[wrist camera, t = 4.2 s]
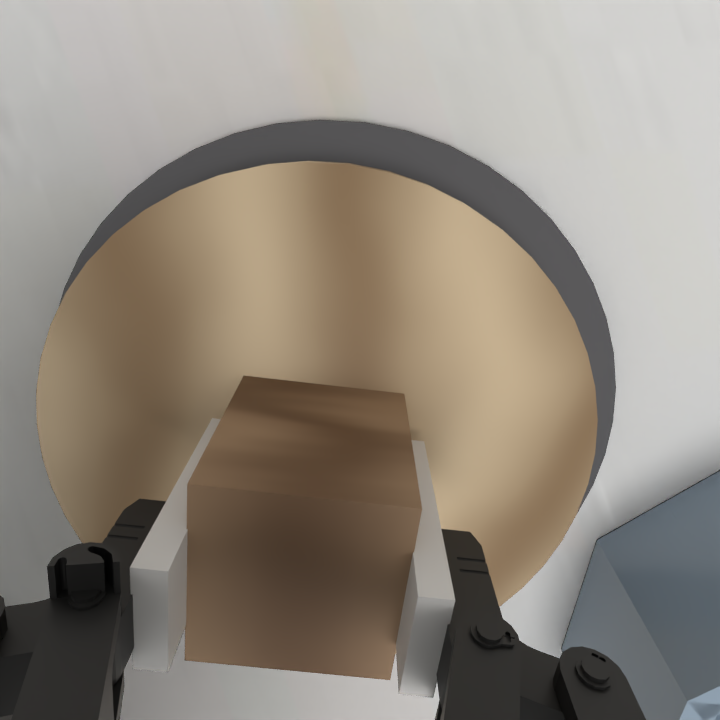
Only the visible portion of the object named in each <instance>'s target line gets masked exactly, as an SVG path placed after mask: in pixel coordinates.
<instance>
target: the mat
mask: <svg viewBox="0 0 720 720" xmlns="http://www.w3.org/2000/svg"><path fill="white" fill-rule="evenodd" d="M299 161H322V162H339V163H351V164H356V165H361V166H366V167H372V168H377V169H382V170H387V171H391V172H393V173H396V174H399V175H402V176H405V177H408V178H411V179H414V180H417V181H419V182H422V183H425V184H428V185H430V186H432V187H434V188H436V189H438V190H440V191H441V192H443V193H445V194H447V195H449V196H451V197H453V198H455V199H457V200H459V201H461V202H463V203H465V204H466V205H468V206H469V207H471V208H472V209H474V210H475V211H476V212H478V213H479V214H481V215H482V216H484V217H485V218H486V219H488V220H489V221H491V222H492V223H494V224H495V225H496V226H498V227H499V228H501V229H502V230H503V231H504V232H505V233H507V234H508V235H509V236H510V237H511V238H512V239H513V240H514V241H515V242H516V243H517V244H518V245H519V246H520V247H521V248H522V249H524V250H525V251H526V252H527V253H528V254H529V255H530V256H531V257H532V258H533V259H534V261H535V262H536V263H537V264H538V266H539V267H540V268H541V269H542V271H543V272H544V273H545V274H546V276H547V277H548V278H549V279H550V281H551V282H552V283H553V285H554V286H555V287H556V289H557V290H558V292H559V294H560V296H561V297H562V299H563V301H564V302H565V304H566V306H567V308H568V309H569V311H570V313H571V315H572V316H573V318H574V320H575V322H576V325H577V327H578V330H579V332H580V335H581V338H582V340H583V343H584V345H585V348H586V350H587V353H588V357H589V361H590V366H591V370H592V375H593V379H594V384H595V390H596V404H597V418H598V423H597V436H596V449H595V456H594V461H593V465H592V469H591V474H590V478H589V483H588V486H587V488H586V491H585V494H584V496H583V499H582V502H581V504H580V507H581V506H582V504H583V502H584V500H585V498H586V497H587V495H588V493H589V491H590V489H591V488H592V486H593V484H594V481H595V479H596V476H597V474H598V471H599V468H600V466H601V463H602V461H603V458H604V456H605V453H606V448H607V444H608V440H609V436H610V431H611V427H612V423H613V414H614V402H615V391H616V383H615V366H614V352H613V347H612V343H611V338H610V333H609V328H608V324H607V319H606V316H605V313H604V311H603V308H602V305H601V302H600V300H599V297H598V294H597V292H596V289H595V286H594V284H593V282H592V280H591V278H590V276H589V275H588V273H587V271H586V269H585V267H584V266H583V264H582V262H581V260H580V258H579V257H578V255H577V253H576V251H575V250H574V248H573V247H572V246H571V244H570V243H569V242H568V240H567V239H566V238H565V237H564V235H563V234H562V233H561V231H560V230H559V229H558V227H557V226H556V225H555V223H554V222H553V221H552V220H551V218H550V217H549V216H548V215H547V214H545V213H544V212H543V211H542V210H541V209H540V208H539V207H538V206H537V205H536V204H535V203H534V202H533V201H532V200H531V199H530V198H529V197H528V196H527V195H526V194H525V193H524V192H523V191H522V190H520V189H519V188H518V187H516V186H515V185H514V184H512V183H511V182H509V181H508V180H507V179H505V178H504V177H502V176H501V175H500V174H498V173H497V172H495V171H494V170H493V169H491V168H490V167H489V166H487V165H485V164H483V163H481V162H479V161H478V160H476V159H474V158H472V157H470V156H468V155H466V154H464V153H462V152H460V151H458V150H456V149H455V148H453V147H451V146H449V145H446V144H443V143H440V142H437V141H434V140H432V139H429V138H426V137H423V136H420V135H417V134H415V133H412V132H409V131H405V130H400V129H395V128H390V127H385V126H380V125H375V124H370V123H365V122H348V121H330V120H314V121H303V122H291V123H279V124H273V125H269V126H265V127H261V128H256V129H252V130H248V131H243V132H239V133H235V134H232V135H230V136H227V137H225V138H222V139H219V140H217V141H214V142H212V143H209V144H207V145H204V146H202V147H199V148H196V149H194V150H193V151H191V152H189V153H187V154H186V155H184V156H182V157H180V158H179V159H177V160H175V161H173V162H172V163H170V164H168V165H166V166H165V167H163V168H161V169H160V170H158V171H157V172H156V173H154V174H153V175H152V176H151V177H149V178H148V179H147V180H146V181H144V182H143V183H142V184H141V185H139V186H138V187H137V188H136V189H134V190H133V191H132V192H131V193H129V194H128V195H127V196H126V197H125V198H124V199H123V200H122V201H121V203H120V204H119V205H118V206H117V207H116V208H115V209H114V210H113V211H112V212H111V213H110V214H109V215H108V217H107V218H106V219H105V220H104V221H103V222H102V223H101V224H100V226H99V227H98V229H97V230H96V232H95V233H94V235H93V236H92V238H91V239H90V241H89V242H88V244H87V245H86V247H85V248H84V250H83V251H82V253H81V254H80V256H79V258H78V260H77V262H76V265H75V267H74V269H73V271H72V273H71V275H70V277H69V279H68V282H67V284H66V286H65V288H64V292H63V295H62V298H61V302H62V300H63V298H64V296H65V293H66V292H67V290H68V289H69V287H70V286H71V284H72V283H73V281H74V280H75V279H76V277H77V276H78V274H79V273H80V271H81V270H82V268H83V267H84V265H85V264H86V263H87V261H88V260H89V259H90V258H91V257H92V256H93V255H94V254H95V253H96V252H97V251H98V250H99V249H100V248H101V247H102V245H103V244H104V243H105V242H106V241H107V240H108V239H109V238H110V237H111V236H112V235H113V234H114V233H115V232H117V231H118V230H119V229H121V228H122V227H123V226H124V225H126V224H127V223H128V222H130V221H131V220H132V219H133V218H135V217H136V216H137V215H139V214H140V213H141V212H142V211H144V210H145V209H147V208H149V207H151V206H152V205H154V204H156V203H158V202H159V201H161V200H163V199H165V198H167V197H168V196H170V195H172V194H174V193H175V192H177V191H179V190H181V189H184V188H187V187H189V186H192V185H194V184H197V183H200V182H202V181H205V180H207V179H210V178H213V177H215V176H218V175H222V174H226V173H230V172H235V171H239V170H244V169H248V168H252V167H257V166H261V165H266V164H274V163H287V162H299ZM61 302H60V304H61ZM59 306H60V305H59ZM580 507H579V509H580ZM579 509H578V511H579ZM577 513H578V512H577Z"/></svg>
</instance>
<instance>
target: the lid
mask: <svg viewBox="0 0 720 720" xmlns="http://www.w3.org/2000/svg"><path fill="white" fill-rule="evenodd" d="M36 409H37V429H38V435H39V441H40V447H41V453H42V458H43V461H44V464H45V468H46V471H47V474H48V477H49V480H50V484H51V487H52V489H53V491H54V493H55V495H56V498H57V500H58V502H59V504H60V506H61V508H62V510H63V512H64V515H65V517H66V518H67V520H68V521H69V523H70V524H71V526H72V528H73V529H74V531H75V532H76V534H77V535H78V537H79V539H80V540H81V542H82V543H88V542H95V543H102V542H103V541H104V539H105V537H107V534H108V533H109V531H110V530H111V528H112V527H113V526H114V525H115V522H116V521H117V519H118V518H119V516H120V515H121V513H122V512H123V510H124V509H125V508H127V507H128V506H130V505H131V504H132V503H134V502H135V501H137V500H138V499H149V500H159V501H167V499H168V497H169V495H170V494H171V492H172V490H173V488H174V486H175V485H176V483H177V481H178V479H179V477H180V475H181V474H182V472H183V470H184V468H185V466H186V465H187V463H188V461H189V459H190V457H191V456H192V454H193V452H194V450H195V448H196V446H197V445H198V443H199V441H200V439H201V437H202V436H203V434H204V432H205V430H206V428H207V427H208V425H209V423H210V421H211V419H212V418H216V419H221V420H220V422H219V424H218V426H217V428H216V430H215V432H214V433H213V435H212V437H211V439H210V441H209V443H208V445H207V447H206V449H205V451H204V453H203V455H202V457H201V458H200V460H199V462H198V464H197V466H196V468H195V470H194V472H193V474H192V476H191V478H190V480H189V482H188V483H187V529H188V531H187V600H186V626H185V660H186V661H197V662H207V663H218V664H228V665H239V666H249V667H260V668H270V669H280V670H291V671H301V672H312V673H322V674H333V675H343V676H354V677H364V678H374V679H385V680H390V678H391V672H392V667H393V662H394V656H395V654H396V641H397V636H398V630H399V625H400V620H401V614H402V609H403V604H404V598H405V593H406V587H407V582H408V577H409V571H410V566H411V561H412V555H413V552H414V550H415V545H416V539H417V534H418V529H419V523H420V518H421V513H422V504H421V498H420V492H419V485H418V479H417V472H416V466H415V459H414V453H413V446H412V440H416V441H424V443H425V448H426V453H427V458H428V463H429V469H430V474H431V479H432V484H433V489H434V494H435V499H436V504H437V509H438V514H439V520H440V525H441V529H449V530H458V531H468V532H471V533H472V535H473V536H474V537H475V538H476V539H477V541H478V542H479V543H480V544H481V545H482V549H483V552H484V556H485V559H486V563H487V566H488V570H489V575H490V577H491V580H492V584H493V587H494V591H495V594H496V598H497V601H498V604H499V607H500V606H501V605H502V604H503V603H505V602H506V601H507V600H508V599H509V598H511V597H512V596H513V595H514V594H516V593H517V592H518V591H519V590H520V589H522V588H523V587H524V586H525V585H526V584H527V583H528V581H529V580H530V579H531V578H532V577H533V576H534V575H535V574H536V573H537V572H538V571H539V570H540V569H541V568H542V567H543V566H544V564H545V563H546V562H547V560H548V559H549V558H550V556H551V555H552V554H553V552H554V551H555V549H556V548H557V547H558V545H559V544H560V543H561V541H562V540H563V538H564V536H565V534H566V532H567V531H568V529H569V527H570V525H571V523H572V522H573V520H574V518H575V516H576V514H577V512H578V509H579V507H580V504H581V502H582V499H583V496H584V494H585V491H586V488H587V486H588V483H589V478H590V474H591V469H592V465H593V461H594V456H595V449H596V436H597V423H598V418H597V404H596V390H595V384H594V379H593V375H592V370H591V366H590V361H589V357H588V353H587V350H586V348H585V345H584V343H583V340H582V338H581V335H580V332H579V330H578V327H577V325H576V322H575V320H574V318H573V316H572V315H571V313H570V311H569V309H568V308H567V306H566V304H565V302H564V301H563V299H562V297H561V296H560V294H559V292H558V290H557V289H556V287H555V286H554V285H553V283H552V282H551V281H550V279H549V278H548V277H547V276H546V274H545V273H544V272H543V271H542V269H541V268H540V267H539V266H538V264H537V263H536V262H535V261H534V259H533V258H532V257H531V256H530V255H529V254H528V253H527V252H526V251H525V250H524V249H522V248H521V247H520V246H519V245H518V244H517V243H516V242H515V241H514V240H513V239H512V238H511V237H510V236H509V235H508V234H507V233H505V232H504V231H503V230H502V229H501V228H499V227H498V226H496V225H495V224H494V223H492V222H491V221H489V220H488V219H486V218H485V217H484V216H482V215H481V214H479V213H478V212H476V211H475V210H474V209H472V208H471V207H469V206H468V205H466V204H465V203H463V202H461V201H459V200H457V199H455V198H453V197H451V196H449V195H447V194H445V193H443V192H441V191H440V190H438V189H436V188H434V187H432V186H430V185H428V184H425V183H422V182H419V181H417V180H414V179H411V178H408V177H405V176H402V175H399V174H396V173H393V172H391V171H387V170H382V169H377V168H372V167H366V166H361V165H356V164H351V163H339V162H322V161H299V162H287V163H274V164H266V165H261V166H257V167H252V168H248V169H244V170H239V171H235V172H230V173H226V174H222V175H218V176H215V177H213V178H210V179H207V180H205V181H202V182H200V183H197V184H194V185H192V186H189V187H187V188H184V189H181V190H179V191H177V192H175V193H174V194H172V195H170V196H168V197H167V198H165V199H163V200H161V201H159V202H158V203H156V204H154V205H152V206H151V207H149V208H147V209H145V210H144V211H142V212H141V213H140V214H139V215H137V216H136V217H135V218H133V219H132V220H131V221H130V222H128V223H127V224H126V225H124V226H123V227H122V228H121V229H119V230H118V231H117V232H115V233H114V234H113V235H112V236H111V237H110V238H109V239H108V240H107V241H106V242H105V243H104V244H103V245H102V247H101V248H100V249H99V250H98V251H97V252H96V253H95V254H94V255H93V256H92V257H91V258H90V259H89V260H88V261H87V263H86V264H85V265H84V267H83V268H82V270H81V271H80V273H79V274H78V276H77V277H76V279H75V280H74V281H73V283H72V284H71V286H70V287H69V289H68V290H67V292H66V293H65V296H64V298H63V300H62V302H61V304H60V306H59V308H58V310H57V312H56V314H55V316H54V319H53V321H52V323H51V325H50V328H49V332H48V335H47V338H46V342H45V345H44V349H43V352H42V355H41V360H40V367H39V374H38V382H37V389H36Z"/></svg>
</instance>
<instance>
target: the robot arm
mask: <svg viewBox="0 0 720 720" xmlns="http://www.w3.org/2000/svg"><path fill="white" fill-rule="evenodd" d="M220 420H221V419H216V418H212V419H211V421H210V423H209V425H208V427H207V428H206V430H205V432H204V434H203V436H202V437H201V439H200V441H199V443H198V445H197V446H196V448H195V450H194V452H193V454H192V456H191V457H190V459H189V461H188V463H187V465H186V466H185V468H184V470H183V472H182V474H181V475H180V477H179V479H178V481H177V483H176V485H175V486H174V488H173V490H172V492H171V494H170V495H169V497H168V499H167V501H159V500H149V499H138V500H137V501H135V502H134V503H132V504H131V505H130V506H128V507H127V508H125V509H124V510H123V512H122V513H121V515H120V516H119V518H118V519H117V521H116V522H115V525H114V526H113V527H112V528H111V530H110V531H109V533H108V534H107V537H105V539H104V541H103V542H102V543H95V542H88V543H82V544H77V545H74V546H72V547H69V548H67V549H64V550H63V551H61V552H60V553H58V554H57V555H56V556H54V557H53V558H52V560H51V561H50V563H49V564H48V566H47V570H48V581H49V591H50V598H49V599H47V600H44V601H39V602H34V603H28V604H21V605H14V606H7V607H5V604H4V598H3V597H1V596H0V720H120V713H121V706H122V699H123V692H124V668H125V666H126V664H127V662H128V660H129V657H130V655H131V653H132V661H133V669H136V670H147V671H157V672H169V669H170V666H171V664H172V661H173V658H174V656H175V653H176V650H177V647H178V645H179V642H180V639H181V637H182V634H183V631H184V629H185V626H186V600H187V531H188V529H187V483H188V482H189V480H190V478H191V476H192V474H193V472H194V470H195V468H196V466H197V464H198V462H199V460H200V458H201V457H202V455H203V453H204V451H205V449H206V447H207V445H208V443H209V441H210V439H211V437H212V435H213V433H214V432H215V430H216V428H217V426H218V424H219V422H220ZM412 446H413V453H414V459H415V466H416V472H417V479H418V485H419V492H420V498H421V504H422V513H421V518H420V523H419V529H418V534H417V539H416V545H415V550H414V552H413V555H412V561H411V566H410V571H409V577H408V582H407V587H406V593H405V598H404V604H403V609H402V614H401V620H400V625H399V630H398V636H397V641H396V655H397V671H398V688H399V694H401V695H411V696H422V697H432V698H433V696H434V692H435V688H436V683H438V690H439V698H440V701H439V705H438V709H437V713H436V718H435V720H646V718H645V716H644V714H643V712H642V710H641V708H640V706H639V703H638V701H637V699H636V697H635V695H634V693H633V691H632V689H631V686H630V684H629V682H628V680H627V678H626V676H625V675H624V673H623V672H622V670H621V669H620V667H619V666H618V665H617V664H616V663H614V662H613V661H612V660H611V659H610V658H609V657H608V656H606V655H604V654H602V653H600V652H598V651H596V650H594V649H590V648H586V647H583V646H580V647H570V648H568V649H567V650H565V651H563V653H562V655H561V657H560V659H559V658H556V657H554V656H551V655H548V654H546V653H543V652H540V651H537V650H535V649H533V648H531V647H529V646H527V645H525V644H524V643H522V642H521V641H519V638H518V635H517V633H516V632H515V630H514V629H513V628H512V626H511V625H510V624H508V623H507V622H506V621H505V620H503V618H502V615H501V611H500V608H499V604H498V601H497V598H496V594H495V591H494V587H493V584H492V580H491V577H490V575H489V570H488V566H487V563H486V559H485V556H484V552H483V549H482V545H481V544H480V543H479V542H478V541H477V539H476V538H475V537H474V536H473V535H472V533H471V532H468V531H458V530H449V529H441V525H440V520H439V514H438V509H437V504H436V499H435V494H434V489H433V484H432V479H431V474H430V469H429V463H428V458H427V453H426V448H425V443H424V441H416V440H412Z"/></svg>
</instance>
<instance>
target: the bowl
mask: <svg viewBox="0 0 720 720" xmlns="http://www.w3.org/2000/svg"><path fill="white" fill-rule="evenodd" d="M580 646H583V647H586V648H590V649H594V650H596V651H598V652H600V653H602V654H604V655H606V656H608V657H609V658H610V659H611V660H612V661H613V662H614V663H616V664H617V665H618V666H619V667H620V669H621V670H622V672H623V673H624V675H625V676H626V678H627V680H628V682H629V684H630V686H631V689H632V691H633V693H634V695H635V697H636V699H637V701H638V703H639V706H640V708H641V710H642V712H643V714H644V716H645V718H646V720H720V471H719V472H717V473H715V474H713V475H712V476H710V477H708V478H706V479H705V480H703V481H701V482H699V483H697V484H696V485H694V486H692V487H690V488H689V489H687V490H685V491H683V492H681V493H680V494H678V495H676V496H674V497H673V498H671V499H669V500H667V501H665V502H664V503H662V504H660V505H658V506H657V507H655V508H653V509H651V510H650V511H648V512H646V513H644V514H642V515H641V516H639V517H637V518H635V519H634V520H632V521H630V522H628V523H626V524H625V525H623V526H621V527H619V528H618V529H616V530H614V531H612V532H610V533H609V534H607V535H605V536H603V537H602V538H600V539H598V540H597V542H596V545H595V548H594V551H593V554H592V557H591V560H590V563H589V566H588V569H587V572H586V576H585V579H584V582H583V585H582V588H581V591H580V594H579V597H578V600H577V603H576V606H575V609H574V612H573V615H572V618H571V621H570V624H569V627H568V631H567V634H566V637H565V640H564V643H563V646H562V652H563V651H565V650H567V649H568V648H570V647H580Z"/></svg>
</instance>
